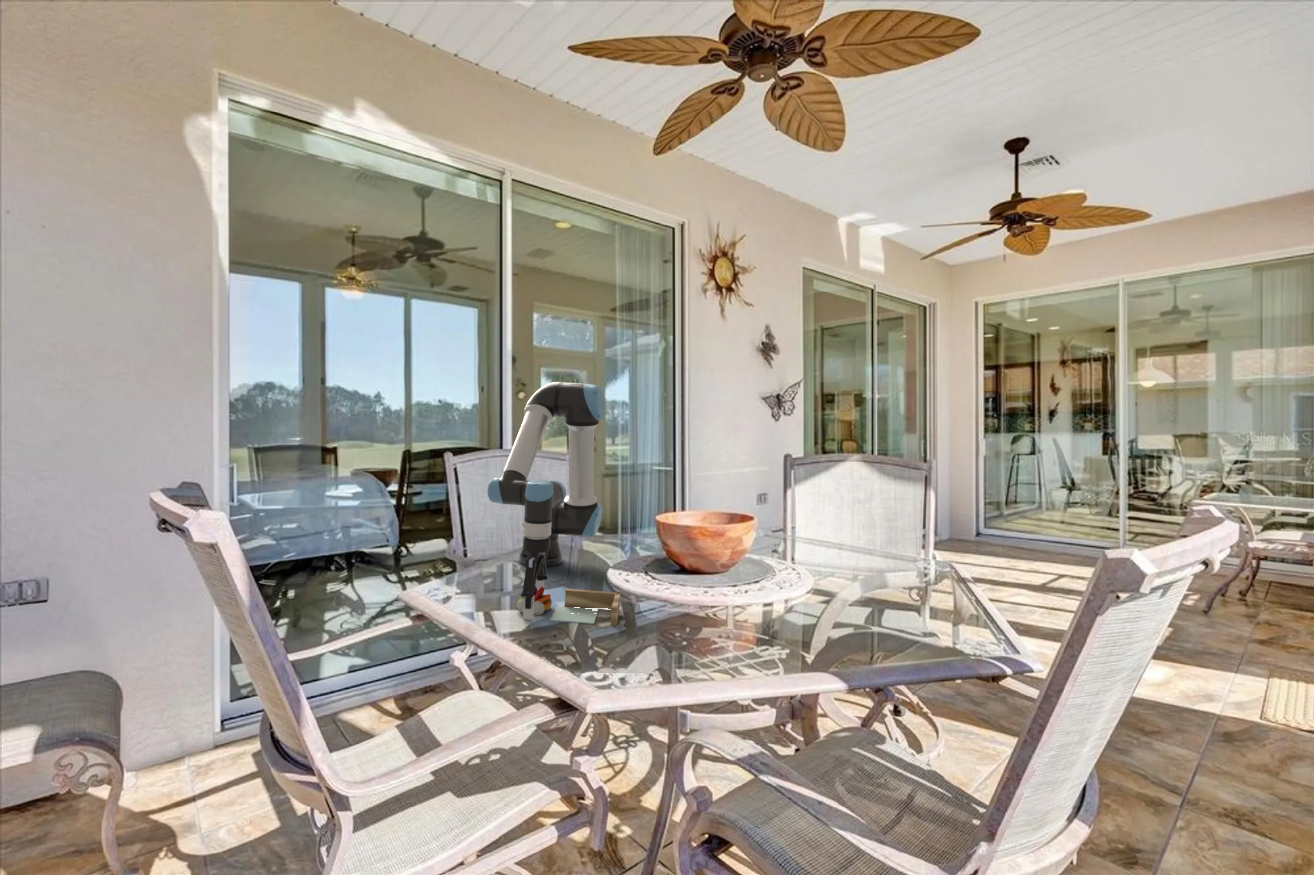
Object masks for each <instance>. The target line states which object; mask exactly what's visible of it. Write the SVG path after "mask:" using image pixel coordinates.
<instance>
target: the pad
mask: <svg viewBox="0 0 1314 875" xmlns="http://www.w3.org/2000/svg"><path fill="white" fill-rule="evenodd" d="M597 612H599V610H598V611H592V609H585V608H574V607H564V606H560V605H559V606H556V609H555V610H554V612H553V613H552V616H551V618H550V621H551V622H564V623H577V624H589V625H590V624H591V625H594V624H595V622H596V619H597V616H598V613H597ZM571 613H574V614H571ZM578 613H579V614H578ZM594 613H597V614H594Z"/></svg>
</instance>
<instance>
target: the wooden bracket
mask: <svg viewBox="0 0 1314 875" xmlns="http://www.w3.org/2000/svg"><path fill="white" fill-rule="evenodd" d="M621 596H622V595H621V592H616V591H615V592H614V591H601V590H590V589H589V590H588V589H574V588H565V590H564V606H563V607H580V608H608V609H611V611H610V626H617V623H618V618H619V615H618V613H619V614H620V611H619V607H620V608H621Z"/></svg>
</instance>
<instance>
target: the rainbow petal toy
mask: <svg viewBox="0 0 1314 875" xmlns="http://www.w3.org/2000/svg"><path fill="white" fill-rule="evenodd" d="M520 592H521V593H520V595H521V594H522V593H523V589H522V590H521V591H520ZM543 592H544V593H545V586H544V587H541V588H540V589H539V590H538V591H537V587H536V586H535V589H534V616H540V615H542V614H543V613H544V612H545V611H548V610H551V607H552V605H553V604H552V603H553V600H552V596H551V594H549V593H547V594H544V595H542V594H543ZM529 593H530V592H529ZM516 606H517V607H516V608H517V610H518V612H519V613H521V614H523V607H524V597H519V599H518V600H517V604H516Z"/></svg>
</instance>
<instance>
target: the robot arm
mask: <svg viewBox="0 0 1314 875" xmlns="http://www.w3.org/2000/svg"><path fill="white" fill-rule="evenodd" d="M605 402H606V401H605V396H604V392H603V391H602V389H601V387H600V386H599V385H596V384H591V383H580V382H561V381H553V382H549V383H547V384H545V385H544V386H543V385H542V386H541V387H540V388H539V389H537V390H536V391H535V392H534V394H532V395H531V397H530V398H529V399H528V401H527V402H526V404H525V406H524V410H523V415H524V417H523V421H522V423H521V426H520V428H519V431H518V433H517V435H516V438H515V441H514V444H513V446H512V448H511V452H510V453H509V456H508V459H507V461H506V464H505V466H504V468H503V472H502V474H501V476H500V477H493V478H492V479H490V481H489V483H488V486H487V497H488V500H489V501H490V502H492V503H494V504H495V503H496V504H501V505H510V506H511V505H512V506H524V520H523V521H524V523H522V524H521V525H522V527H524V528H523V535H524V536H523V538H522V539H523V540H522V547H521V549H520V552H519V556H518V558H519V559H518V562H519V563H520V564H521V565H524V566H525V571H524V572H525V573H524V580H523V585H522V590H523V593H522V594H521V593H520V598H522V597H524V607H523V613H522V619H523V620H527V619H528V620H530V621H533V620H534V616H535V614H534V589H535V586H536V587H537V591H538V590H539V589H540V588H541V587H544V588H545V581H547V580H548V575H547V568H549V567H555V566H558V565H560V564H561V563H562V562H563V552H562V549H561V546H560V543H559V535H560V536H562V535H563V536H572V537H578V538H593V537H595V536H596V535H597V533H598V531H599V529H600V524H601V522H602V516H603V506H602V505H601V504H598V497H597V496H595V495H594V476H595V475H594V474H595V473H594V471H595V470H594V468H595V467H594V466H595V464H594V463H595V462H594V461H595V429H596V428H597V427H598V426H599V424H600V421H601V420H603V419H604V417H605V408H606V405H605ZM554 417H558V418H560V417H561V418H564V425H566V426H567V428H568V494H567V490H566V489H567V488H566V487H565V485H564V484H562V482H560V481H558V480H550V481H549V480H544V479H533V480H528V477H529V474H530V472H531V469H532V467H533V463H534V461H535V458H536V456H537V452H538V450H539V447H540V445H541V442H542V439H543V436H544V434H545V430H546V428H547V427H548V426H547V425H549V424H550V423H551V422H552V421H553V418H554ZM529 592H530V593H529ZM542 595H545V591H544V592H543V594H542Z"/></svg>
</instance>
